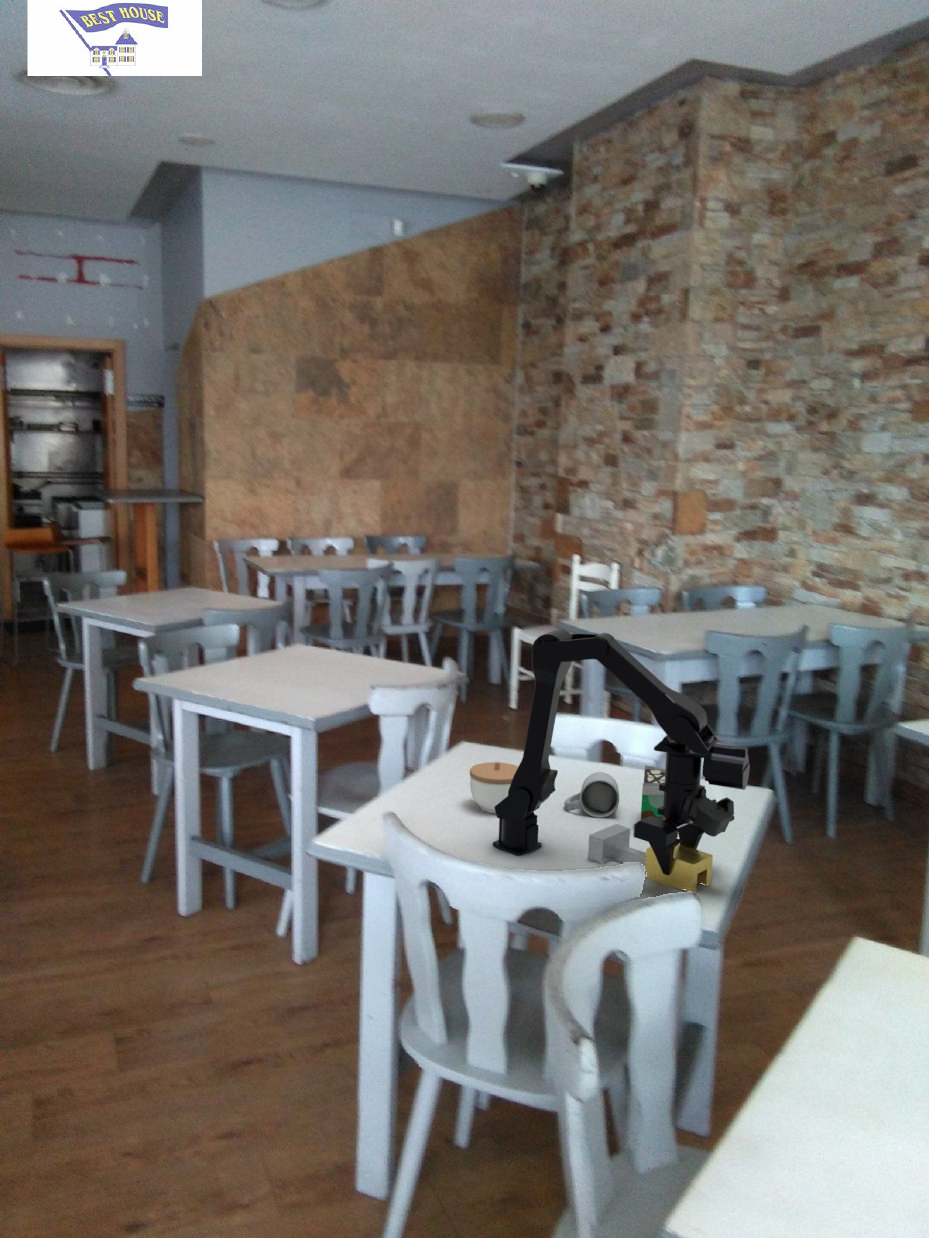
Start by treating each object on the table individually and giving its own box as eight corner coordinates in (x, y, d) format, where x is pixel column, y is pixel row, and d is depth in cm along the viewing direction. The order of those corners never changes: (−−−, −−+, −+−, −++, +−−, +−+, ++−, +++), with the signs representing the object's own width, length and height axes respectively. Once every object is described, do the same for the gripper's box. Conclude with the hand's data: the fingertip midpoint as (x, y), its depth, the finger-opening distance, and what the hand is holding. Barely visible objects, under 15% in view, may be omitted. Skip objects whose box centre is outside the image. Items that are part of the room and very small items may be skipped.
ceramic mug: (617, 805, 210) (619, 768, 209) (618, 819, 202) (620, 781, 201) (564, 802, 212) (565, 765, 210) (563, 816, 204) (564, 778, 202)
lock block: (644, 876, 176) (646, 848, 175) (664, 867, 180) (666, 839, 179) (691, 893, 170) (693, 864, 169) (710, 883, 174) (712, 854, 173)
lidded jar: (493, 795, 214) (495, 750, 213) (534, 808, 207) (536, 763, 205) (457, 807, 206) (458, 761, 205) (497, 821, 199) (499, 774, 198)
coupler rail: (587, 858, 183) (589, 834, 182) (614, 847, 188) (616, 823, 188) (638, 877, 175) (639, 852, 175) (664, 864, 181) (666, 840, 180)
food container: (673, 839, 193) (676, 787, 192) (639, 835, 194) (642, 783, 193) (673, 816, 205) (677, 767, 203) (641, 813, 206) (644, 764, 205)
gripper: (694, 804, 160) (688, 900, 163) (755, 779, 173) (748, 868, 176) (634, 787, 168) (629, 879, 170) (696, 763, 181) (690, 849, 184)
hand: (676, 869), depth 175 cm, fingers closed on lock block, 6 cm apart
